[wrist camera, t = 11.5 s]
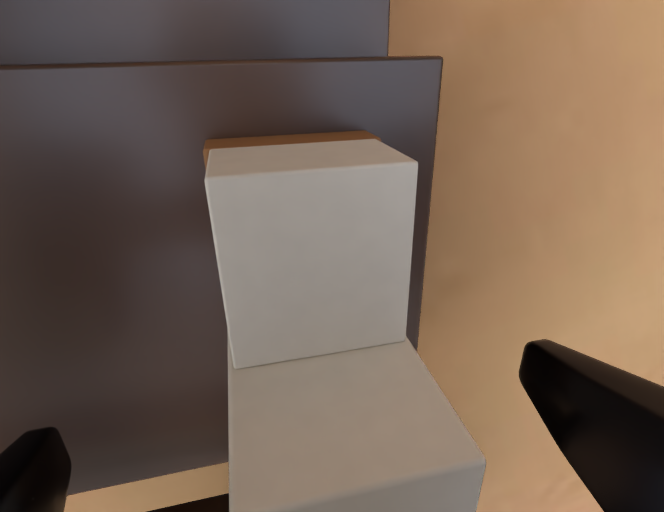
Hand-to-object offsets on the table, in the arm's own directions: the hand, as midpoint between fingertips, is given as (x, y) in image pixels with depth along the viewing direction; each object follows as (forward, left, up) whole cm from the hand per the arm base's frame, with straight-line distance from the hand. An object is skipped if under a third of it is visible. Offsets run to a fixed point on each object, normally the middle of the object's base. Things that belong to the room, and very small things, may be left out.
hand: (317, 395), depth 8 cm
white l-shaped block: (0, -1, -2) cm, 2 cm away
